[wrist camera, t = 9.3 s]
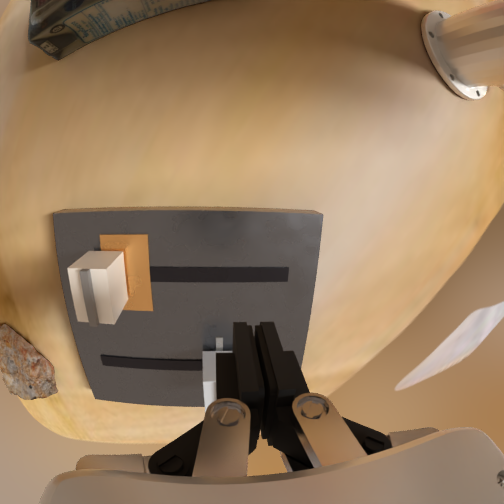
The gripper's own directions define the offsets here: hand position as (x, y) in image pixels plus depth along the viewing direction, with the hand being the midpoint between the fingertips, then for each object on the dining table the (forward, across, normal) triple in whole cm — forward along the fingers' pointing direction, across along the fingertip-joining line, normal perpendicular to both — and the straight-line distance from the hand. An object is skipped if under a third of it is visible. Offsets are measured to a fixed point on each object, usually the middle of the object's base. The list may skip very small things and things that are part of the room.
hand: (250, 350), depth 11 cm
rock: (+12, +26, +14) cm, 31 cm away
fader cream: (+10, +10, +1) cm, 14 cm away
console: (+13, +4, +6) cm, 15 cm away
